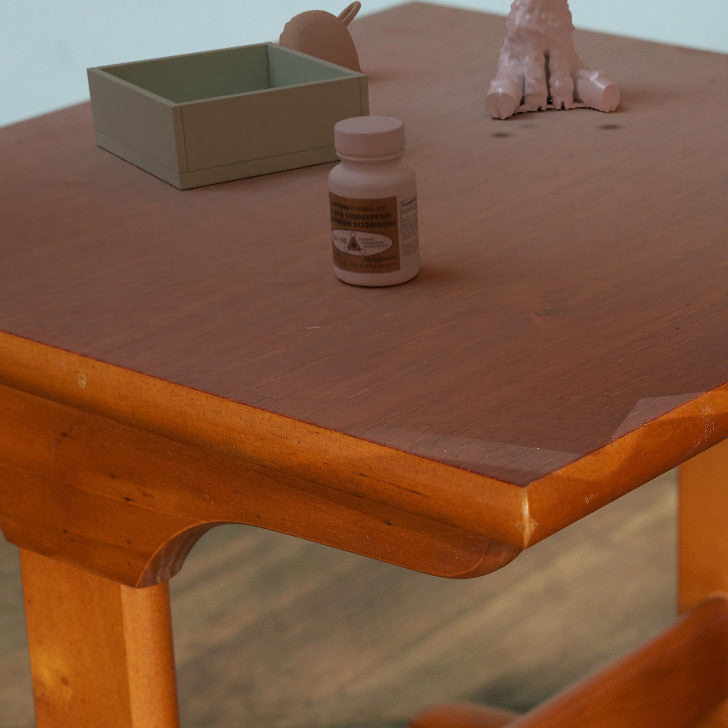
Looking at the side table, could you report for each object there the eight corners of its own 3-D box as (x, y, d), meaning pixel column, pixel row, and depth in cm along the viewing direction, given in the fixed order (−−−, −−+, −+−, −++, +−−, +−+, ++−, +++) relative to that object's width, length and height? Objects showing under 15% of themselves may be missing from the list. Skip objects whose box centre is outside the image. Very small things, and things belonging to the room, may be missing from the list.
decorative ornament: (263, 87, 123) (256, 13, 121) (352, 69, 128) (347, -3, 126) (296, 96, 121) (290, 20, 118) (385, 77, 126) (381, 4, 123)
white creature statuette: (488, 121, 113) (484, -64, 108) (461, 93, 120) (456, -81, 115) (622, 111, 115) (625, -71, 109) (588, 84, 122) (589, -88, 117)
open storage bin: (180, 190, 100) (171, 106, 97) (96, 145, 109) (85, 68, 107) (372, 154, 106) (367, 74, 104) (276, 114, 116) (270, 41, 114)
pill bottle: (319, 283, 84) (308, 131, 81) (356, 257, 88) (347, 110, 84) (399, 292, 83) (392, 137, 79) (433, 265, 86) (427, 116, 83)
